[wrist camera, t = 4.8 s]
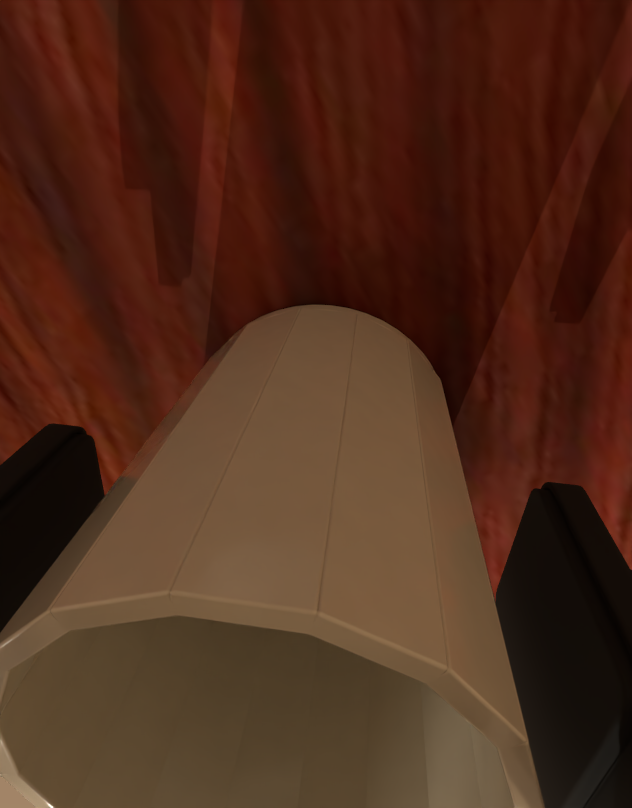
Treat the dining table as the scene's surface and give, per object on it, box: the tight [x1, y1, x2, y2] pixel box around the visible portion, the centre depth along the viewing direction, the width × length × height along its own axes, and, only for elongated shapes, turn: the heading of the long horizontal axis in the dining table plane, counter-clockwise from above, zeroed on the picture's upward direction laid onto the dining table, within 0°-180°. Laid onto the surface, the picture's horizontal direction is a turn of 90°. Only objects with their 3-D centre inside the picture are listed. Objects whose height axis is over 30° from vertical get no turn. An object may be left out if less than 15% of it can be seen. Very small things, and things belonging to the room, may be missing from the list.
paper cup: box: [0, 305, 545, 808], centre depth 9 cm, size 6×6×8 cm
